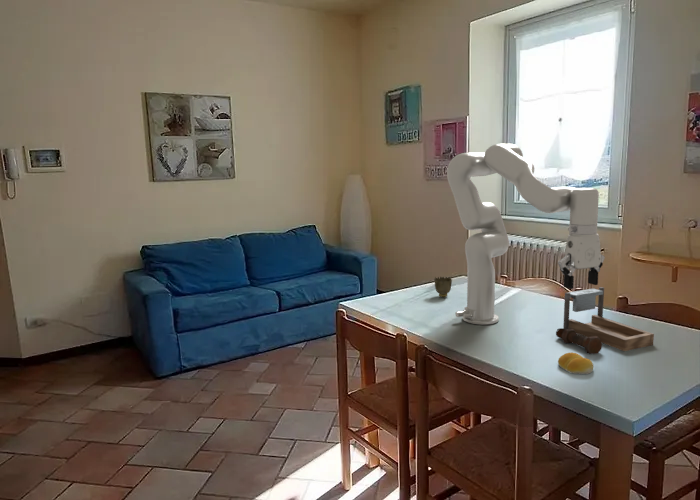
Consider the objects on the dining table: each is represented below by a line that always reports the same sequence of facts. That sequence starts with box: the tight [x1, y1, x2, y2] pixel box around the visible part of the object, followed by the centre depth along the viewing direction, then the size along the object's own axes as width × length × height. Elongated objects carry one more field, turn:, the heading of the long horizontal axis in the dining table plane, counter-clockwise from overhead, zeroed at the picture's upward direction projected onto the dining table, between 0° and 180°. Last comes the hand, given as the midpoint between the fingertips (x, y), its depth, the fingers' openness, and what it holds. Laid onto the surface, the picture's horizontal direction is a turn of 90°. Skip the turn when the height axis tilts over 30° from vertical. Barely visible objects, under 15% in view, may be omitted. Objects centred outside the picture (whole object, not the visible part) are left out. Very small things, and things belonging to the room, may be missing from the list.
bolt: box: [555, 327, 603, 355], centre depth 157 cm, size 6×5×15 cm
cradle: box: [562, 286, 655, 352], centre depth 162 cm, size 17×22×13 cm
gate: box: [567, 288, 603, 313], centre depth 171 cm, size 12×4×6 cm, turn 112°
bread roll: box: [557, 351, 594, 375], centre depth 140 cm, size 8×9×4 cm
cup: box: [433, 276, 453, 298], centre depth 216 cm, size 8×7×8 cm
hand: (580, 286), depth 154 cm, fingers open, 9 cm apart
